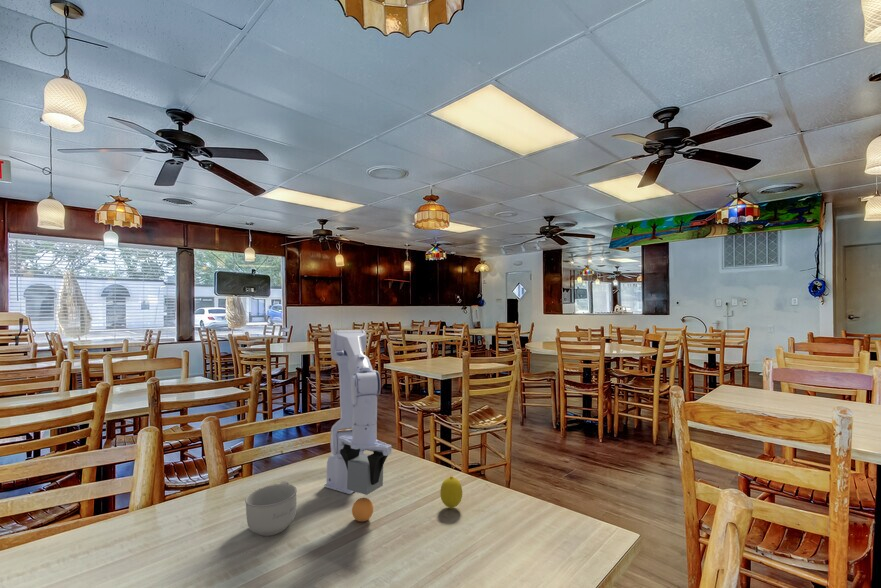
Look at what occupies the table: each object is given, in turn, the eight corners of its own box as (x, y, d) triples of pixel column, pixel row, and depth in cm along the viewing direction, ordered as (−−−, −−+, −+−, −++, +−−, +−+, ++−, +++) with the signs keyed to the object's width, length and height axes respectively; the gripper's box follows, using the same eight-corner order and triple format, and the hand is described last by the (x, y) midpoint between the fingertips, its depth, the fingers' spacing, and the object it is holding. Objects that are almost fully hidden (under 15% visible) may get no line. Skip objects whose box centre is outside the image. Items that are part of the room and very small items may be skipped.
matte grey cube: (347, 489, 96) (347, 460, 96) (363, 480, 101) (364, 453, 102) (367, 495, 93) (368, 465, 93) (382, 485, 98) (383, 458, 99)
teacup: (278, 545, 85) (279, 506, 86) (233, 538, 88) (234, 501, 88) (311, 512, 99) (312, 479, 99) (272, 507, 101) (273, 475, 102)
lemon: (453, 516, 98) (454, 483, 98) (435, 509, 101) (436, 477, 102) (466, 507, 103) (466, 475, 103) (448, 501, 106) (449, 470, 106)
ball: (355, 491, 98) (362, 503, 100) (344, 511, 94) (352, 523, 96) (373, 495, 96) (379, 507, 98) (362, 515, 92) (369, 528, 94)
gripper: (330, 422, 97) (328, 479, 97) (379, 431, 90) (377, 493, 90) (349, 415, 103) (348, 469, 103) (397, 423, 96) (396, 481, 96)
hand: (363, 480), depth 97 cm, fingers closed on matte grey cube, 6 cm apart
